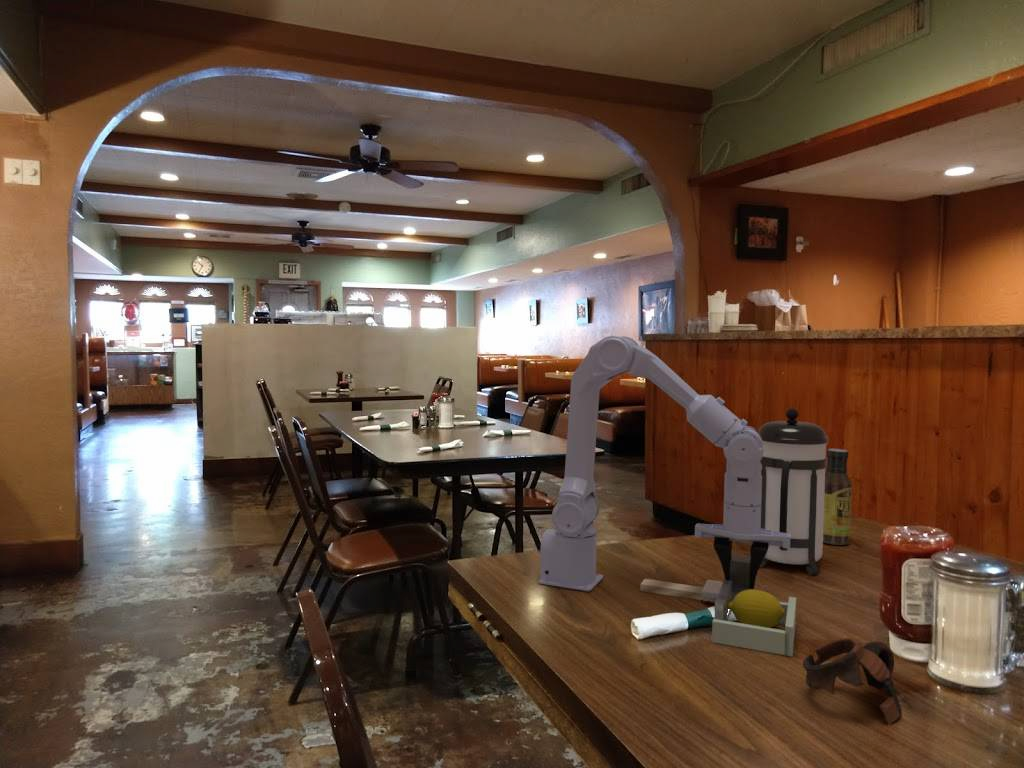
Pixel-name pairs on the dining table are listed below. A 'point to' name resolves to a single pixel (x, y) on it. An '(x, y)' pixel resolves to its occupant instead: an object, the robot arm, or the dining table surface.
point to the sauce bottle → (837, 499)
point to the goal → (759, 633)
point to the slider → (729, 585)
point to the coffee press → (794, 489)
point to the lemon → (756, 608)
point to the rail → (674, 590)
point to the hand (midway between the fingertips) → (740, 585)
